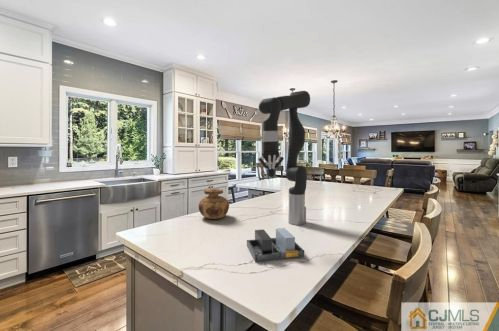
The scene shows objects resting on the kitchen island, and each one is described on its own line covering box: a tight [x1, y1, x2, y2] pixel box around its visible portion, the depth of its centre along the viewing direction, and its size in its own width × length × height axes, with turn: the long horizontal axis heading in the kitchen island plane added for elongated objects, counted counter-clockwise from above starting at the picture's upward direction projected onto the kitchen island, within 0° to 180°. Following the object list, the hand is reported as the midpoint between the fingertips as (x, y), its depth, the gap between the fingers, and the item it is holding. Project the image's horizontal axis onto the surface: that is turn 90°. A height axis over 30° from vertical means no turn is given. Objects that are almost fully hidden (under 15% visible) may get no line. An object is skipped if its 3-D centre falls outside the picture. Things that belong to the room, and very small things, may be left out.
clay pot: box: [198, 187, 230, 220], centre depth 153 cm, size 19×19×20 cm
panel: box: [275, 227, 296, 252], centre depth 104 cm, size 4×12×7 cm, turn 12°
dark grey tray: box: [246, 228, 305, 263], centre depth 103 cm, size 20×16×8 cm
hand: (271, 176), depth 118 cm, fingers closed
